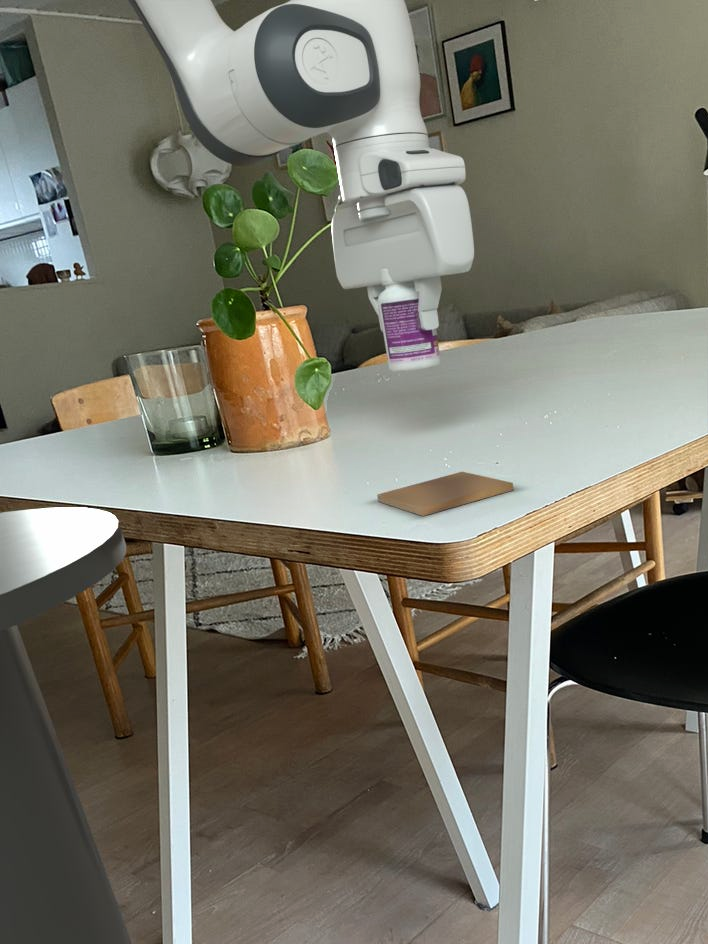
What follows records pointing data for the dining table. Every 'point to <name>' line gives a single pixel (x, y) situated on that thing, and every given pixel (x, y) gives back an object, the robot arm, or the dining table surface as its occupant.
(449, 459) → the dining table surface
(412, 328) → the pill bottle
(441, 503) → the coaster
